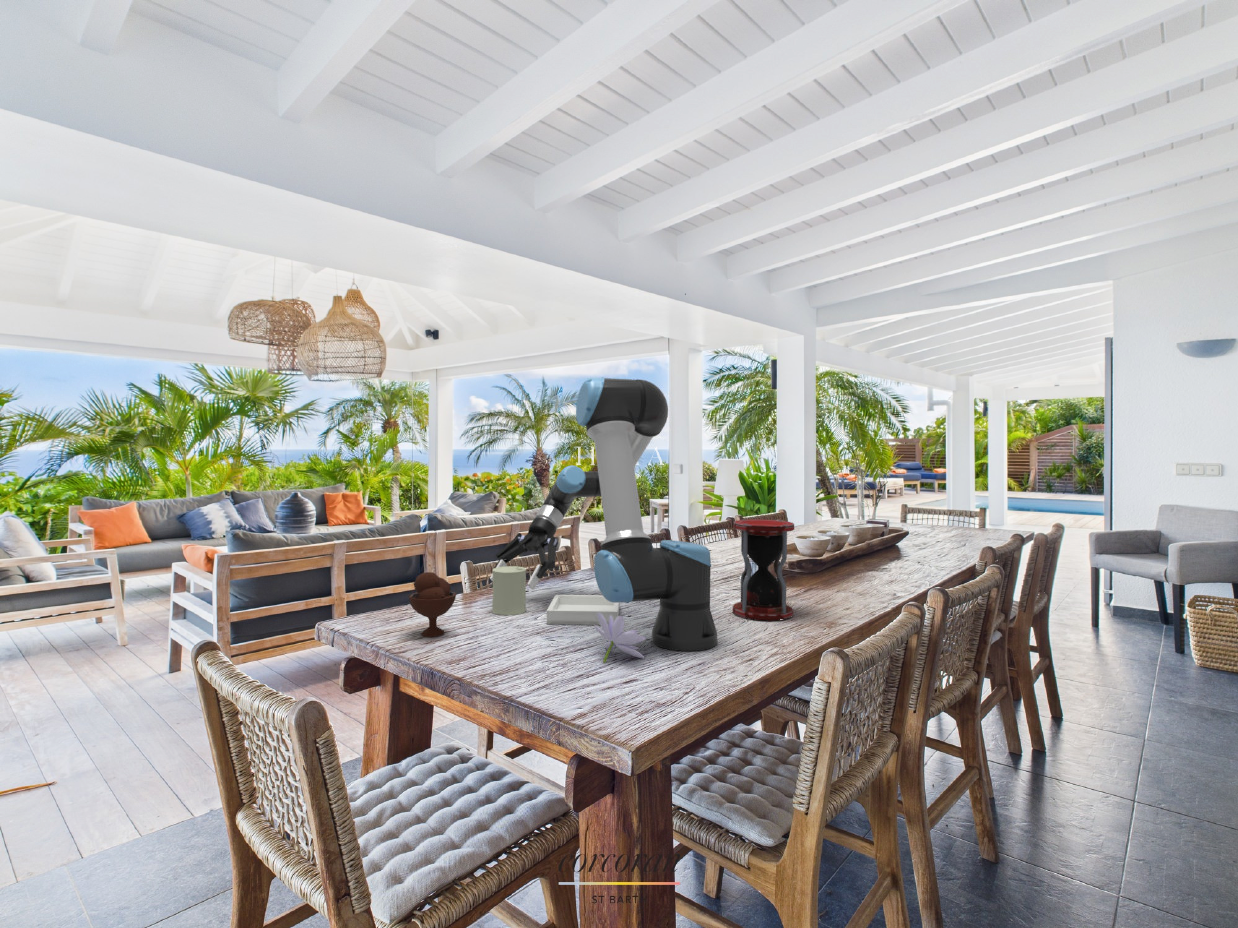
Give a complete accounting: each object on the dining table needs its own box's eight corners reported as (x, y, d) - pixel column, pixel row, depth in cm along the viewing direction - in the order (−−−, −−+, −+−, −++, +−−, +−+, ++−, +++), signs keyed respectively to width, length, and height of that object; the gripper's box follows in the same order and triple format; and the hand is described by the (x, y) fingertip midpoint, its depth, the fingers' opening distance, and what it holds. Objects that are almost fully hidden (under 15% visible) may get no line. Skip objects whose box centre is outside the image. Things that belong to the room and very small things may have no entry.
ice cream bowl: (444, 641, 153) (444, 576, 153) (400, 638, 156) (400, 574, 155) (464, 629, 164) (464, 568, 163) (422, 626, 166) (422, 566, 166)
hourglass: (720, 612, 183) (721, 521, 182) (759, 603, 193) (760, 517, 192) (766, 624, 170) (767, 527, 169) (805, 615, 180) (806, 523, 179)
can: (523, 615, 178) (523, 570, 177) (488, 615, 178) (488, 570, 177) (528, 607, 187) (528, 564, 187) (495, 606, 187) (496, 564, 187)
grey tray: (617, 625, 168) (617, 611, 168) (546, 624, 169) (546, 610, 169) (619, 607, 186) (619, 595, 186) (555, 607, 187) (555, 594, 187)
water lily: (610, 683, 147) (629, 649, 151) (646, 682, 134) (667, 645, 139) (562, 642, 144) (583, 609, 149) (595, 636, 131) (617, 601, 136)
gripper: (585, 535, 192) (553, 597, 179) (518, 529, 205) (484, 586, 193) (574, 518, 187) (540, 581, 175) (507, 513, 200) (471, 570, 188)
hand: (511, 584), depth 184 cm, fingers open, 13 cm apart
